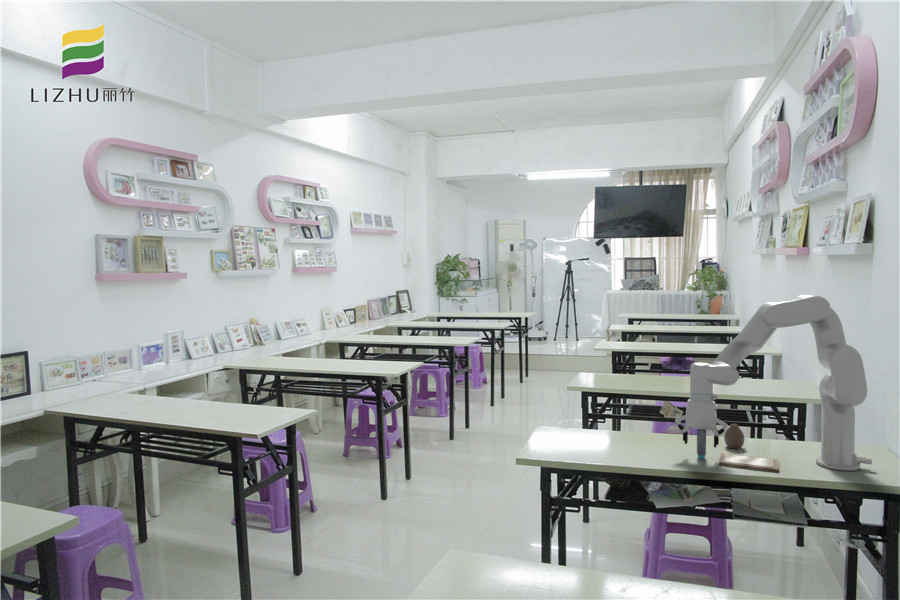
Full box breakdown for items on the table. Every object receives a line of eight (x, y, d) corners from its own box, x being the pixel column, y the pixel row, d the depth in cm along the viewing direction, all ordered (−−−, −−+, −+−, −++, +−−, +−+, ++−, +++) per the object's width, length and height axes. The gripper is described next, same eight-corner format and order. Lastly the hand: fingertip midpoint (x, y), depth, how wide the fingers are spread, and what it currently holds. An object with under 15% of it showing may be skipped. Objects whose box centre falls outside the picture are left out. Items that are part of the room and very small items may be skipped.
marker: (706, 457, 208) (706, 424, 208) (705, 459, 206) (705, 426, 205) (697, 456, 210) (697, 423, 209) (696, 458, 207) (696, 425, 207)
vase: (740, 445, 224) (740, 422, 223) (747, 450, 217) (747, 426, 217) (721, 444, 224) (721, 422, 224) (728, 449, 218) (728, 426, 217)
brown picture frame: (777, 462, 202) (777, 459, 202) (778, 472, 191) (778, 468, 191) (720, 455, 210) (720, 452, 210) (718, 465, 200) (718, 461, 199)
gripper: (728, 397, 206) (727, 445, 207) (676, 393, 214) (676, 439, 215) (727, 401, 200) (726, 450, 200) (674, 396, 208) (673, 444, 208)
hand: (700, 444), depth 208 cm, fingers open, 9 cm apart
